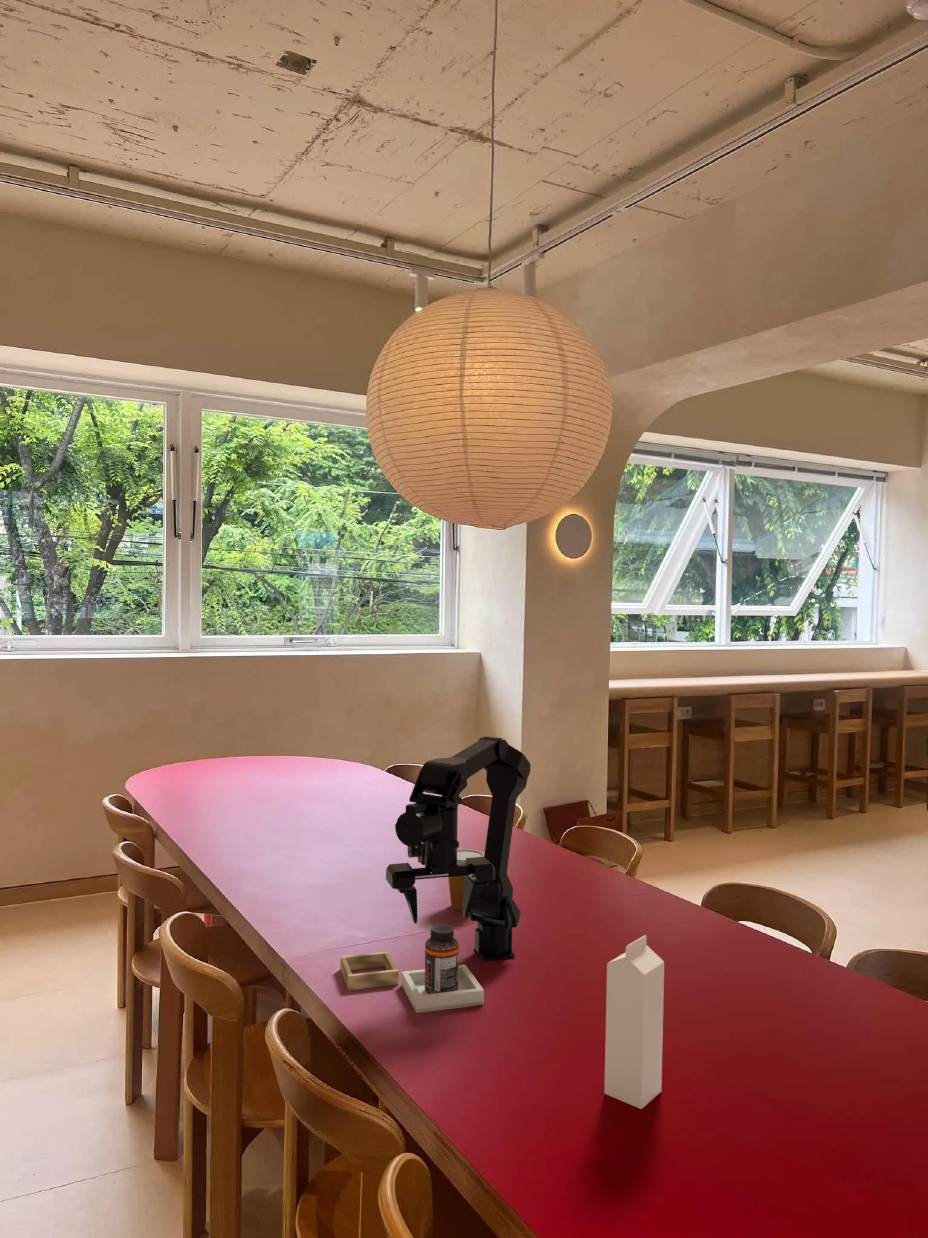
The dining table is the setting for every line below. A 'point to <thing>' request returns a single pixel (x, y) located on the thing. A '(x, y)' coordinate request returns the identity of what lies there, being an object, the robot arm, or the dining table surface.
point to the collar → (369, 978)
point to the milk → (634, 1025)
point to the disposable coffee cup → (460, 879)
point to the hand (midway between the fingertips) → (440, 920)
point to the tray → (463, 997)
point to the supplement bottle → (441, 960)
